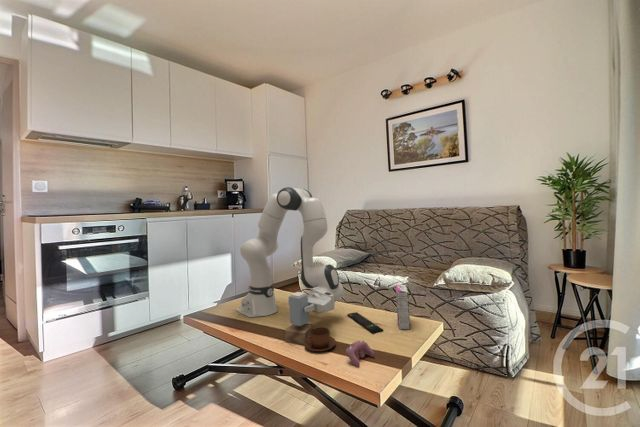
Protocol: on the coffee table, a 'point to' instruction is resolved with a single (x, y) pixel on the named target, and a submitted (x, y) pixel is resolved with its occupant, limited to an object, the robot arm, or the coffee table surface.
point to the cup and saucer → (319, 340)
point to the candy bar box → (402, 307)
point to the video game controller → (361, 349)
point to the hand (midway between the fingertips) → (297, 308)
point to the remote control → (365, 323)
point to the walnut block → (298, 333)
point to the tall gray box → (298, 308)
